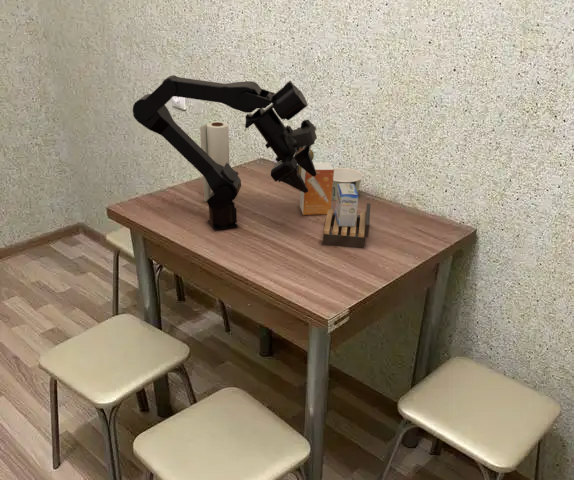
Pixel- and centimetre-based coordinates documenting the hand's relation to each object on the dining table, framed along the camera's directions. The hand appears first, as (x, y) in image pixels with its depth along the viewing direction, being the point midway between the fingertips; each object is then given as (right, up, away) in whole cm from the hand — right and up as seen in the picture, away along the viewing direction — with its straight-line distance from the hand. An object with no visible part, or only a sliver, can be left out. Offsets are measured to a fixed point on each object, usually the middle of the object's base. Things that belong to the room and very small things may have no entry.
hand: (311, 183), depth 146 cm
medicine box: (+9, -9, +4) cm, 13 cm away
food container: (+11, +5, +29) cm, 31 cm away
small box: (+2, -2, +19) cm, 19 cm away
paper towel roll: (-26, +3, +24) cm, 36 cm away
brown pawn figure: (-1, +10, +36) cm, 37 cm away
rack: (+9, -12, +6) cm, 16 cm away
